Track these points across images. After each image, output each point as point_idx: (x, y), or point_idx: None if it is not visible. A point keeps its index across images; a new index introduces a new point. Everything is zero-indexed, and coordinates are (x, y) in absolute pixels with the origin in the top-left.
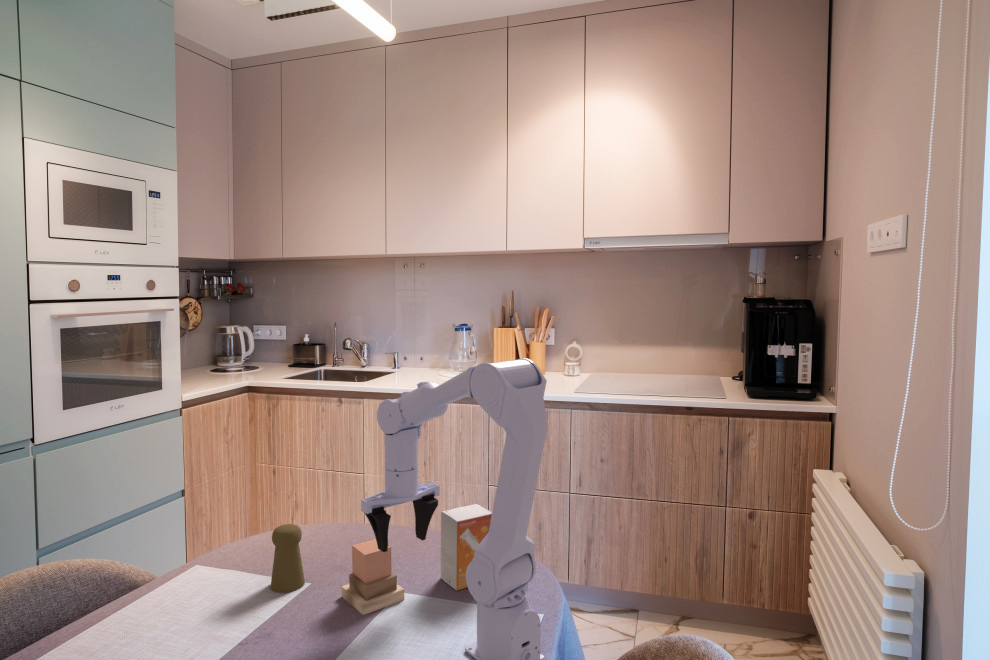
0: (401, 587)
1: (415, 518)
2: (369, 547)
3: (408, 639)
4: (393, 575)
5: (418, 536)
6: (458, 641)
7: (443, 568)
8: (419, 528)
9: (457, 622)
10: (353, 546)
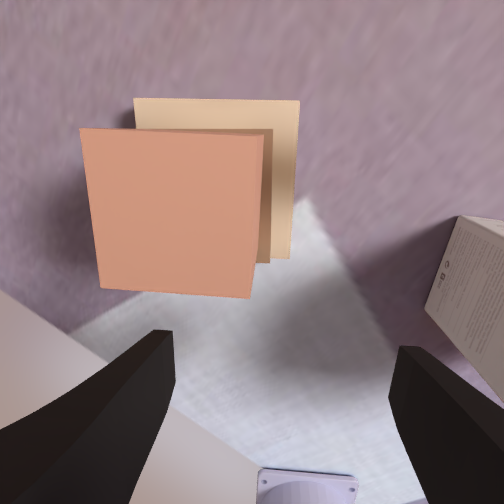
0: (289, 244)
1: (468, 421)
2: (155, 225)
3: (197, 383)
4: (262, 253)
5: (399, 372)
6: (271, 443)
7: (472, 249)
8: (421, 419)
9: (316, 402)
10: (82, 149)
